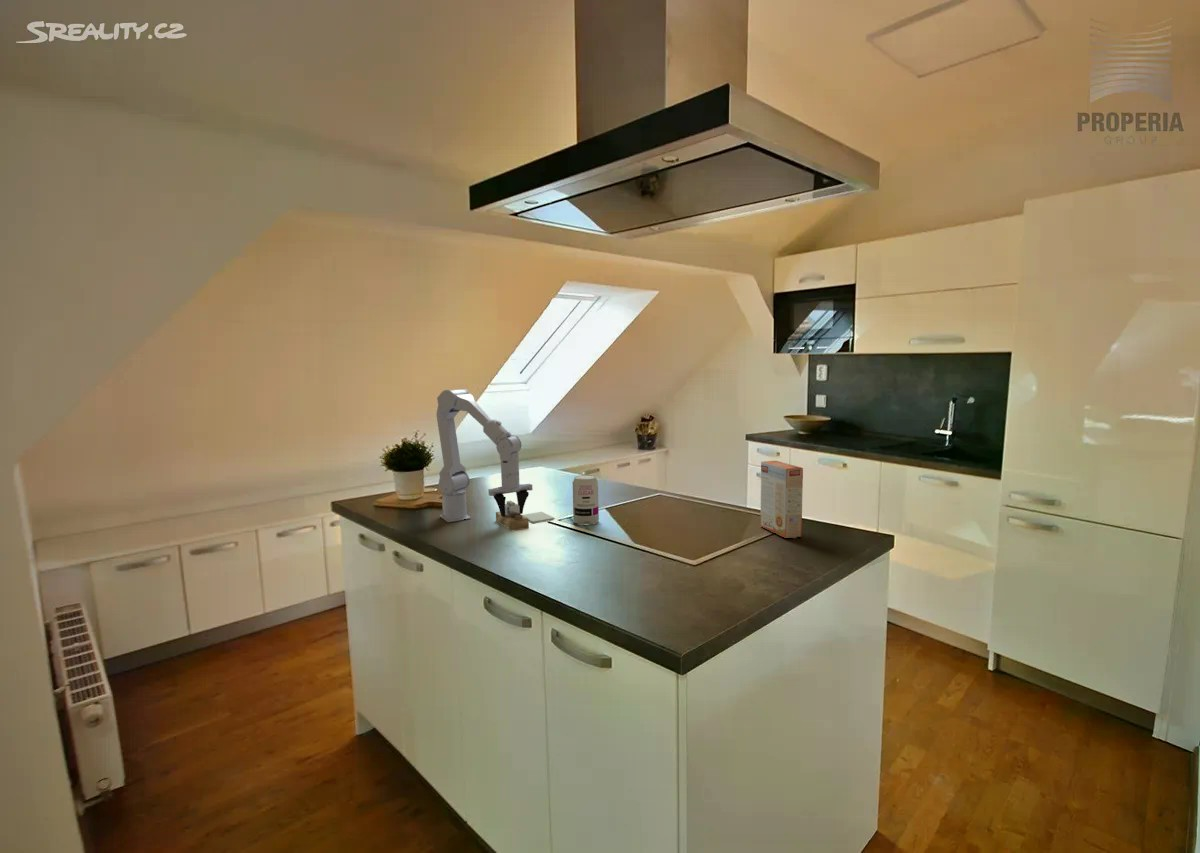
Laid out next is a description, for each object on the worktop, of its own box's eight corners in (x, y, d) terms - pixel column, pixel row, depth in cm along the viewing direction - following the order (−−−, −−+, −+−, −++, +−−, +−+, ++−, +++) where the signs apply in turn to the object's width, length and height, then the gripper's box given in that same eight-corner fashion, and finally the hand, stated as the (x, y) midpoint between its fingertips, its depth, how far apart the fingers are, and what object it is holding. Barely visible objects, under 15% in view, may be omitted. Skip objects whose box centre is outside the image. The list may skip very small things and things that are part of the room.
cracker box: (803, 538, 167) (804, 467, 165) (784, 540, 166) (785, 468, 163) (776, 525, 181) (777, 459, 178) (759, 527, 179) (760, 460, 177)
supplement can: (590, 517, 195) (589, 473, 193) (603, 523, 188) (602, 477, 186) (569, 521, 190) (568, 476, 189) (581, 527, 183) (580, 480, 182)
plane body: (496, 520, 193) (495, 509, 192) (511, 518, 196) (511, 506, 195) (512, 530, 181) (512, 518, 180) (528, 527, 184) (528, 515, 183)
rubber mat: (520, 516, 197) (520, 515, 197) (541, 513, 201) (541, 511, 201) (532, 523, 189) (532, 521, 189) (554, 519, 193) (554, 517, 193)
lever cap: (503, 514, 189) (503, 501, 189) (513, 512, 191) (513, 500, 191) (509, 517, 185) (509, 504, 184) (519, 516, 187) (519, 503, 186)
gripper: (493, 478, 179) (495, 520, 181) (535, 472, 187) (537, 513, 188) (485, 474, 185) (487, 516, 187) (526, 469, 193) (528, 509, 194)
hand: (511, 514), depth 188 cm, fingers open, 5 cm apart
